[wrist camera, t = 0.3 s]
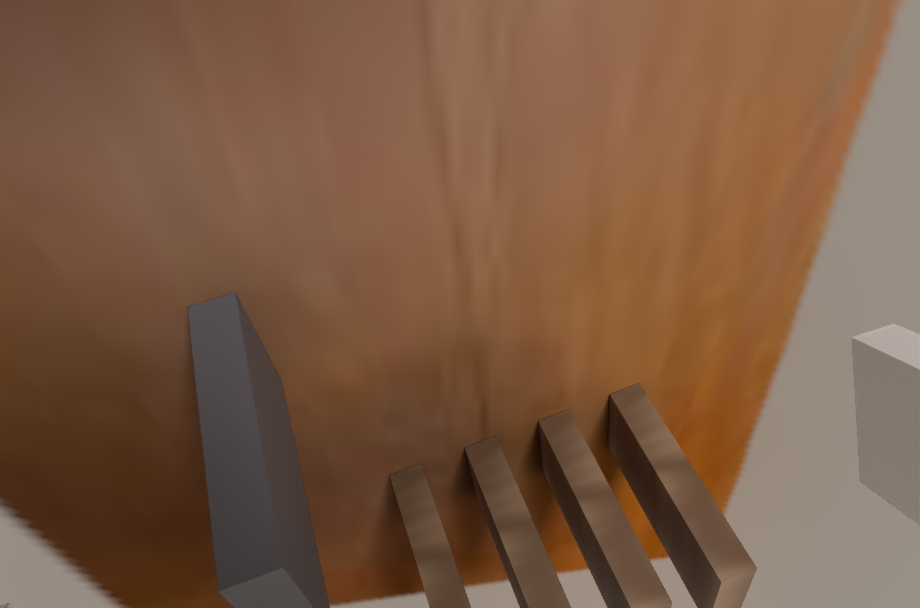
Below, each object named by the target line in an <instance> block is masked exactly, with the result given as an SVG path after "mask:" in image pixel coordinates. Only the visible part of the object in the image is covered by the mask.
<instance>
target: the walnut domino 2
mask: <svg viewBox="0 0 920 608" xmlns="http://www.w3.org/2000/svg"><path fill="white" fill-rule="evenodd" d="M465 451H466V455H467V459H468V463H469V467H470V471H471V475H472V479H473V484H474V488H475V492H476V496H477V499H478V501H479V504H480V506H481V509H482V512H483V514H484V517H485V519H486V522H487V524H488V527H489V529H490V532H491V535H492V537H493V540H494V542H495V545H496V547H497V550H498V552H499V555H500V558H501V560H502V563H503V565H504V568H505V570H506V573H507V576H508V578H509V581H510V583H511V585H512V588H513V591H514V593H515V596H516V598H517V601H518V604H519V606H520V608H571V606H570V604H569V602H568V600H567V597H566V595H565V593H564V590H563V588H562V586H561V584H560V582H559V579H558V577H557V574H556V572H555V570H554V567H553V565H552V563H551V561H550V558H549V556H548V554H547V552H546V549H545V547H544V545H543V542H542V540H541V538H540V536H539V533H538V531H537V529H536V526H535V524H534V522H533V520H532V517H531V515H530V513H529V510H528V508H527V506H526V504H525V501H524V499H523V497H522V494H521V492H520V490H519V488H518V485H517V483H516V481H515V479H514V476H513V474H512V472H511V469H510V467H509V465H508V463H507V460H506V458H505V456H504V453H503V451H502V449H501V447H500V444H499V442H498V440H497V437H496V436H494V437H492V438H489V439H486V440H484V441H481V442H478V443H475V444H473V445H470V446H467V447H465Z"/></svg>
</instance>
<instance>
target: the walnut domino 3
mask: <svg viewBox="0 0 920 608" xmlns="http://www.w3.org/2000/svg"><path fill="white" fill-rule="evenodd" d="M538 424H539V434H540V444H541V454H542V464H543V472H544V474H545V476H546V478H547V481H548V483H549V485H550V487H551V489H552V491H553V493H554V495H555V498H556V500H557V502H558V504H559V506H560V508H561V510H562V512H563V514H564V517H565V519H566V521H567V523H568V525H569V527H570V529H571V531H572V533H573V536H574V538H575V540H576V542H577V544H578V546H579V548H580V550H581V553H582V555H583V557H584V559H585V561H586V563H587V565H588V567H589V569H590V572H591V574H592V575H593V578H594V580H595V582H596V584H597V586H598V588H599V590H600V593H601V595H602V597H603V599H604V601H605V603H606V605H607V607H608V608H671V605H672V601H671V599H670V598H669V596H668V594H667V592H666V590H665V588H664V586H663V585H662V583H661V581H660V579H659V577H658V575H657V573H656V572H655V570H654V568H653V566H652V564H651V562H650V560H649V558H648V557H647V555H646V553H645V551H644V549H643V547H642V545H641V544H640V542H639V540H638V538H637V536H636V534H635V532H634V530H633V529H632V527H631V525H630V523H629V521H628V519H627V517H626V516H625V514H624V512H623V510H622V508H621V506H620V504H619V502H618V501H617V499H616V497H615V495H614V493H613V491H612V489H611V488H610V486H609V484H608V482H607V480H606V478H605V476H604V474H603V473H602V471H601V469H600V467H599V465H598V463H597V461H596V460H595V458H594V456H593V454H592V452H591V450H590V448H589V447H588V445H587V443H586V441H585V439H584V437H583V435H582V433H581V432H580V430H579V428H578V426H577V424H576V422H575V420H574V419H573V417H572V415H571V413H570V411H569V409H568V410H565V411H563V412H560V413H557V414H554V415H552V416H549V417H546V418H543V419H541V420H538Z"/></svg>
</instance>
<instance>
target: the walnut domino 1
mask: <svg viewBox="0 0 920 608" xmlns="http://www.w3.org/2000/svg"><path fill="white" fill-rule="evenodd" d="M389 476H390V479H391V482H392V486H393V489H394V492H395V495H396V499H397V502H398V505H399V508H400V512H401V515H402V518H403V522H404V525H405V528H406V531H407V535H408V538H409V541H410V544H411V548H412V551H413V554H414V557H415V561H416V564H417V567H418V570H419V574H420V577H421V580H422V584H423V587H424V590H425V593H426V597H427V600H428V603H429V606H430V608H471V606H470V603H469V601H468V597H467V595H466V592H465V589H464V586H463V583H462V580H461V577H460V574H459V571H458V568H457V566H456V563H455V560H454V557H453V554H452V551H451V548H450V545H449V542H448V539H447V537H446V534H445V531H444V528H443V525H442V522H441V519H440V516H439V513H438V510H437V508H436V505H435V502H434V499H433V496H432V493H431V490H430V487H429V484H428V481H427V479H426V476H425V473H424V470H423V467H422V464H418V465H415V466H413V467H410V468H407V469H404V470H402V471H399V472H396V473H393V474H391V475H389Z"/></svg>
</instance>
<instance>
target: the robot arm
mask: <svg viewBox="0 0 920 608" xmlns="http://www.w3.org/2000/svg"><path fill="white" fill-rule="evenodd" d="M852 353H853V370H854V387H855V404H856V421H857V438H858V455H859V472H860V482H861V483H862V484H864V485H865V486H866V487H868V488H869V489H871V490H872V491H873V492H875V493H876V494H878V495H879V496H880V497H882V498H883V499H884V500H886V501H887V502H888V503H890V504H891V505H893V506H894V507H896V508H897V509H898V510H899V511H901V512H902V513H904V514H905V515H906V516H908V517H909V518H911V519H912V520H913V521H915V522H916V523H917V524H919V525H920V334H917V333H915V332H912V331H910V330H907V329H905V328H903V327H901V326H898V325H896V324H892V325H888V326H885V327H882V328H879V329H876V330H873V331H870V332H866V333H863V334H860V335H857V336H854V337H852ZM0 608H13V607H12V606H11V604H10V603H8V604H5V605H2V606H0Z"/></svg>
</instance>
